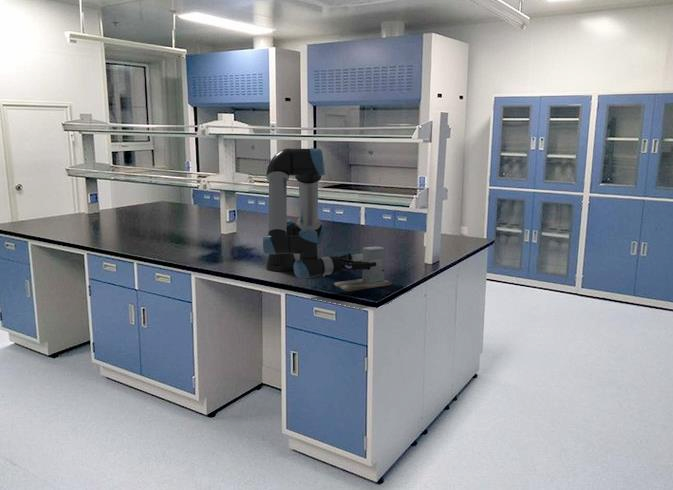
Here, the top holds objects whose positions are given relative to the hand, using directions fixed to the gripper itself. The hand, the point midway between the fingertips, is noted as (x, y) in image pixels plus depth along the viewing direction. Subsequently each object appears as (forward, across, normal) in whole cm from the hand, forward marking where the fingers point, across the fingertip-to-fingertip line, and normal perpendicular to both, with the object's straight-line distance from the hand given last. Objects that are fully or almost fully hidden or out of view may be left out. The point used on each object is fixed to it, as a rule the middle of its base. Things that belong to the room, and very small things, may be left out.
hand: (372, 259), depth 239 cm
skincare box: (0, 0, -10) cm, 10 cm away
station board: (-5, 0, -11) cm, 12 cm away
